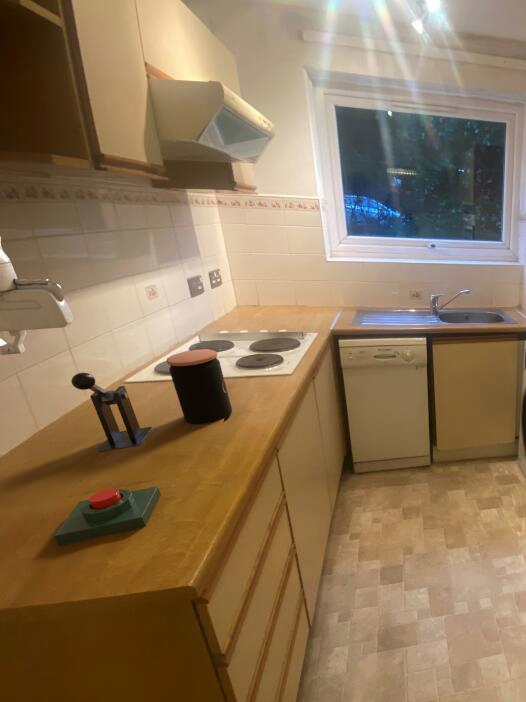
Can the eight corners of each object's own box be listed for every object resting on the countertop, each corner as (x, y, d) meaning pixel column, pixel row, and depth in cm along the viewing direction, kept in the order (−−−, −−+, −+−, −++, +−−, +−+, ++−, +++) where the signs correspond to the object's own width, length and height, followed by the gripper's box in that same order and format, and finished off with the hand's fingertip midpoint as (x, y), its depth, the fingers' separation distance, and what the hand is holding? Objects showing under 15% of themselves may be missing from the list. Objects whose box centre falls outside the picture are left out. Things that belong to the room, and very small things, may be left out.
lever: (89, 384, 89) (89, 368, 90) (67, 387, 88) (67, 371, 89) (123, 405, 102) (122, 391, 103) (103, 408, 100) (103, 393, 101)
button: (88, 512, 76) (84, 504, 75) (97, 499, 79) (94, 491, 79) (117, 506, 78) (113, 498, 77) (124, 493, 81) (121, 485, 80)
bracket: (141, 449, 102) (121, 396, 97) (98, 456, 99) (75, 402, 94) (153, 430, 111) (136, 380, 105) (114, 436, 108) (94, 385, 102)
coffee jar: (240, 416, 118) (224, 354, 111) (197, 432, 110) (176, 365, 103) (222, 406, 124) (205, 346, 117) (179, 420, 116) (158, 357, 109)
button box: (58, 546, 73) (49, 527, 72) (83, 510, 82) (75, 493, 80) (145, 526, 78) (138, 508, 76) (161, 495, 86) (154, 478, 85)
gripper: (65, 275, 85) (89, 343, 90) (-86, 280, 77) (-49, 354, 82) (48, 280, 79) (76, 352, 84) (-115, 285, 71) (-74, 364, 77)
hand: (13, 353), depth 83 cm, fingers closed
